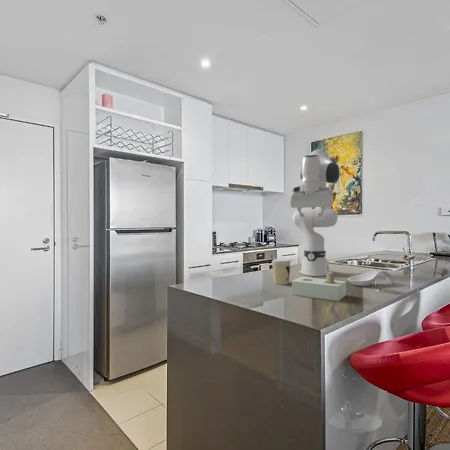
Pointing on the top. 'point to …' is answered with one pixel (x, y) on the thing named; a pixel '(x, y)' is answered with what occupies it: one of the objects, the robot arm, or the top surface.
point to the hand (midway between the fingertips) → (311, 216)
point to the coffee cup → (281, 271)
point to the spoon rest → (369, 278)
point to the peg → (330, 278)
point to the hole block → (319, 288)
